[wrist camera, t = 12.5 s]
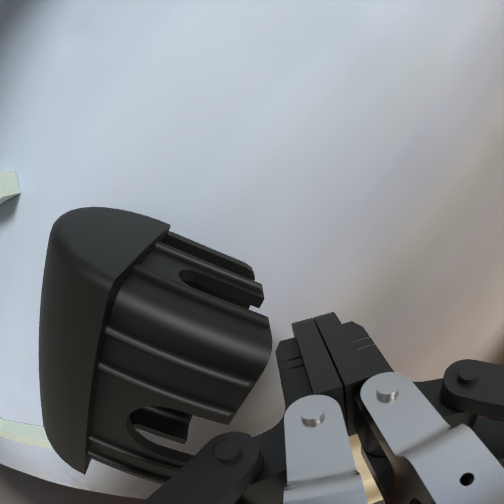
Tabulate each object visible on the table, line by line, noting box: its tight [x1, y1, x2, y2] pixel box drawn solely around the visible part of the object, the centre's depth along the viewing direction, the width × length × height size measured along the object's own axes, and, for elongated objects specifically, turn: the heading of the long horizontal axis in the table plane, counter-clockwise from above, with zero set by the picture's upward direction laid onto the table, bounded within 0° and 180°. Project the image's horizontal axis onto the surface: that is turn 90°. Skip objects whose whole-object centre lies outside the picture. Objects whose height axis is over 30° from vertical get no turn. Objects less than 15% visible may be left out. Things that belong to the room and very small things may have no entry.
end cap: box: [39, 207, 272, 485], centre depth 10 cm, size 10×7×7 cm
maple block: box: [348, 434, 383, 504], centre depth 15 cm, size 5×5×5 cm
